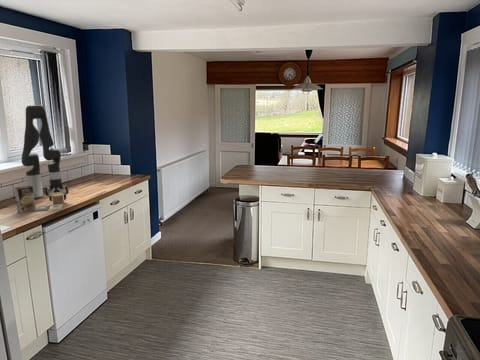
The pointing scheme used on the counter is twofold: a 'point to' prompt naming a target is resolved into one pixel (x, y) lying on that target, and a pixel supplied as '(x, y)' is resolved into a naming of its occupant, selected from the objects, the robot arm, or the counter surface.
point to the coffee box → (25, 199)
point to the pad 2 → (56, 207)
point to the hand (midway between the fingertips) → (58, 200)
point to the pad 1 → (42, 208)
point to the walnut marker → (57, 199)
